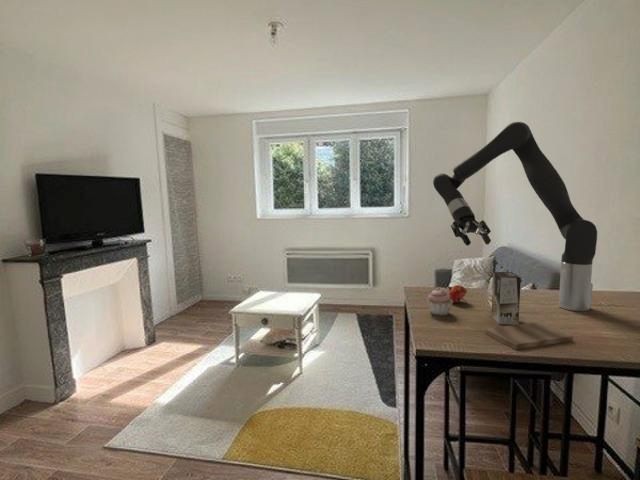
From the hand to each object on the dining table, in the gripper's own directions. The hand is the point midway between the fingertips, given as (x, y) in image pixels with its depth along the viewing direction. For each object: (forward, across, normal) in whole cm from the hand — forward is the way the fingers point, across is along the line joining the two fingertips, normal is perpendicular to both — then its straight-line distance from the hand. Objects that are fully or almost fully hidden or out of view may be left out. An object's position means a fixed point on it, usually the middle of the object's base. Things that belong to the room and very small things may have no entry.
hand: (478, 243), depth 131 cm
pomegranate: (+12, -3, +23) cm, 26 cm away
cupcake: (+19, -17, +17) cm, 30 cm away
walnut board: (+37, -4, -3) cm, 38 cm away
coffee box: (+28, 0, +7) cm, 29 cm away
